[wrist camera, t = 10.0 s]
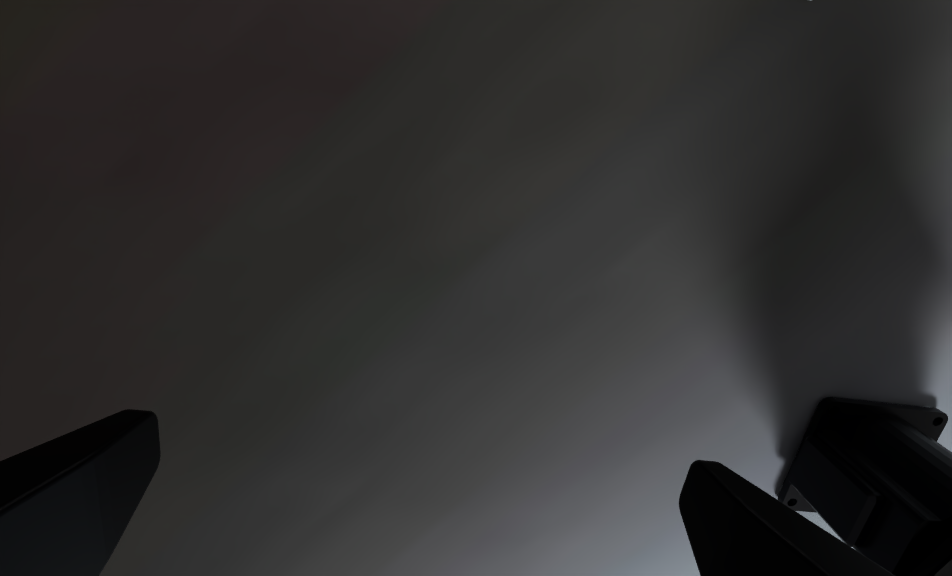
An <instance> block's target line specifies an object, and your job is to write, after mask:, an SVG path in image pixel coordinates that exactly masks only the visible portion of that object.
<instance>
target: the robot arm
mask: <svg viewBox="0 0 952 576" xmlns="http://www.w3.org/2000/svg"><path fill="white" fill-rule="evenodd" d="M831 407H832V408H831ZM830 408H831V409H830ZM829 409H830V410H829ZM947 421H948V416H947V415H946V414H945V413H944V412H942V411H940V410H939V409H936V408H930V407H920V406H911V405H902V404H892V403H883V402H873V401H864V400H855V399H845V398H836V397H827V398H825V399H823V400H822V401H821V402H820V403H819V404H818V406H817V409H816V411H815V413H814V416H813V418H812V420H811V422H810V425H809V427H808V429H807V432H806V434H805V436H804V438H803V441H802V443H801V445H800V448H799V450H798V452H797V454H796V457H795V459H794V461H793V463H792V466H791V468H790V470H789V473H788V475H787V477H786V479H785V482H784V484H783V486H782V489H781V491H780V493H779V495H778V500H777V499H775V498H774V497H772V496H771V495H769V494H768V493H766V492H764V491H763V490H761V489H760V488H758V487H757V486H755V485H754V484H752V483H750V482H749V481H747V480H746V479H744V478H743V477H741V476H740V475H738V474H736V473H735V472H733V471H732V470H730V469H729V468H727V467H726V466H724V465H722V464H721V463H719V462H715V461H704V460H697V461H694V462H693V463H692V464H691V466H690V468H689V471H688V474H687V477H686V480H685V483H684V485H683V488H682V491H681V494H680V498H679V508H680V513H681V516H682V519H683V522H684V525H685V528H686V532H687V535H688V538H689V541H690V544H691V547H692V550H693V554H694V557H695V560H696V563H697V566H698V569H699V572H700V575H701V576H952V452H951V451H949V450H948V449H946V448H945V447H943V446H942V445H940V444H939V443H938V442H937V440H938V438H939V436H940V434H941V433H942V431H943V429H944V427H945V425H946V423H947ZM159 461H160V441H159V428H158V419H157V416H156V414H155V413H153V412H152V411H143V410H132V409H127V410H123V411H121V412H118V413H116V414H113V415H111V416H108V417H106V418H104V419H101V420H99V421H96V422H94V423H92V424H89V425H87V426H84V427H82V428H79V429H77V430H75V431H72V432H70V433H67V434H65V435H63V436H60V437H58V438H55V439H53V440H50V441H48V442H46V443H43V444H41V445H38V446H36V447H34V448H31V449H29V450H26V451H24V452H22V453H19V454H17V455H14V456H12V457H9V458H7V459H5V460H2V461H0V576H99V575H100V573H101V571H102V570H103V568H104V567H105V565H106V563H107V562H108V560H109V558H110V557H111V555H112V553H113V551H114V549H115V548H116V546H117V544H118V542H119V540H120V538H121V536H122V535H123V533H124V531H125V529H126V527H127V525H128V523H129V521H130V519H131V518H132V516H133V514H134V512H135V510H136V508H137V506H138V504H139V502H140V501H141V499H142V497H143V495H144V493H145V491H146V489H147V487H148V485H149V484H150V482H151V480H152V478H153V476H154V474H155V472H156V470H157V468H158V465H159ZM795 511H806V512H817V513H818V514H819V515H820V516H821V517H822V518H823V520H824V521H825V522H826V523H827V524H828V525H829V526H830V527H831V528H832V530H833V531H834V532H835V533H836V534H837V535H838V536H839V537H840V538H841V539H842V541H843V542H842V541H841V540H839V539H837V538H836V537H834V536H833V535H831V534H830V533H828V532H827V531H825V530H823V529H822V528H820V527H819V526H817V525H816V524H814V523H813V522H811V521H809V520H808V519H806V518H805V517H803V516H802V515H800V514H799V513H797V512H795ZM851 547H853V548H854V549H855V550H854V549H853V548H851Z"/></svg>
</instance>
